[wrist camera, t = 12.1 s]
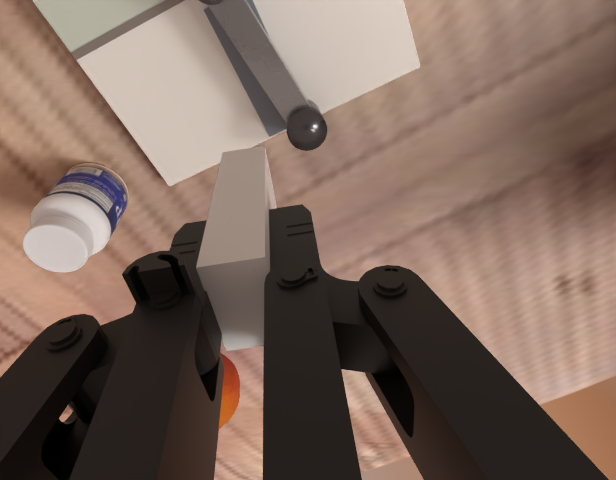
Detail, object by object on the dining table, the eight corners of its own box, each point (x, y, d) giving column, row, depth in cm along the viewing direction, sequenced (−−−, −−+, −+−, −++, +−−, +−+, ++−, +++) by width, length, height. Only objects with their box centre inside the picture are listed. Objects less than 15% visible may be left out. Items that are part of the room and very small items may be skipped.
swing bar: (184, -28, 25) (174, -27, 22) (220, -57, 24) (215, -60, 21) (296, 140, 32) (301, 160, 29) (327, 121, 31) (335, 139, 28)
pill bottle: (112, 226, 36) (76, 292, 29) (52, 195, 34) (-3, 257, 27) (141, 184, 34) (111, 243, 27) (80, 148, 32) (28, 201, 25)
